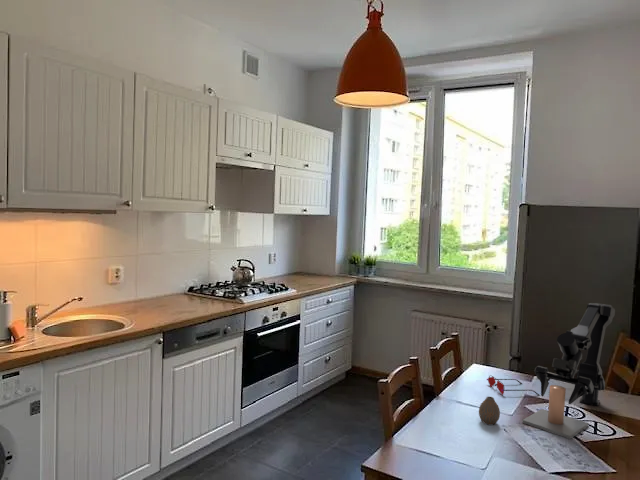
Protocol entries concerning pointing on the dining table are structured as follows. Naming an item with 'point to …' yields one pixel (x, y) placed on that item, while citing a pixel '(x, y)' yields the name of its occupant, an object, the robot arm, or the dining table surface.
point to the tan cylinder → (556, 404)
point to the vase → (489, 411)
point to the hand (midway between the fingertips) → (555, 399)
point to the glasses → (501, 386)
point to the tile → (565, 429)
